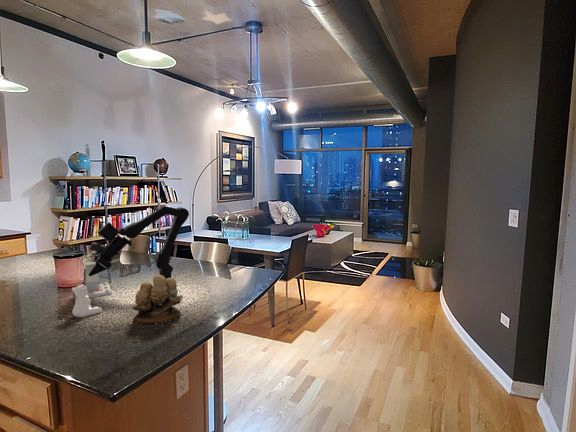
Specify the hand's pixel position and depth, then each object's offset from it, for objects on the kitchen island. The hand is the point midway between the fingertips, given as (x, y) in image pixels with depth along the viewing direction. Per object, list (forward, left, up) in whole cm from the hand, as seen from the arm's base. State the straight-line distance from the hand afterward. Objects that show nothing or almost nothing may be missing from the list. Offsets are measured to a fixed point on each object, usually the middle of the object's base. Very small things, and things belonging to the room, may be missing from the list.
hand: (88, 273), depth 159 cm
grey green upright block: (0, -1, -8) cm, 8 cm away
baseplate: (0, -1, -9) cm, 9 cm away
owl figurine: (-48, -9, -9) cm, 50 cm away
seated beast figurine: (-26, +10, -9) cm, 30 cm away
